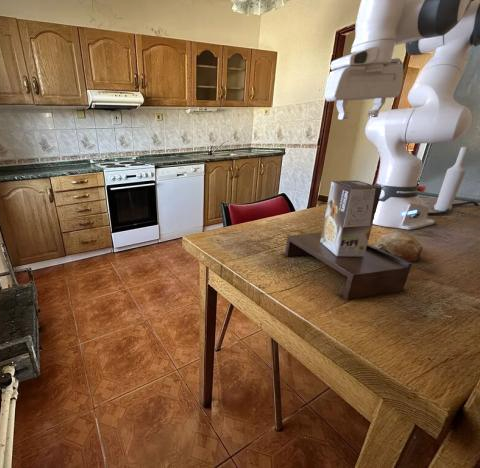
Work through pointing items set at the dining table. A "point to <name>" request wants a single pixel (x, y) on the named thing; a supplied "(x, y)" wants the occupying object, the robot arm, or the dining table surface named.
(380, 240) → the bread roll
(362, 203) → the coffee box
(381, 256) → the shelf
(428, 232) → the dining table surface
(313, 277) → the dining table surface
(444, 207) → the bottle
